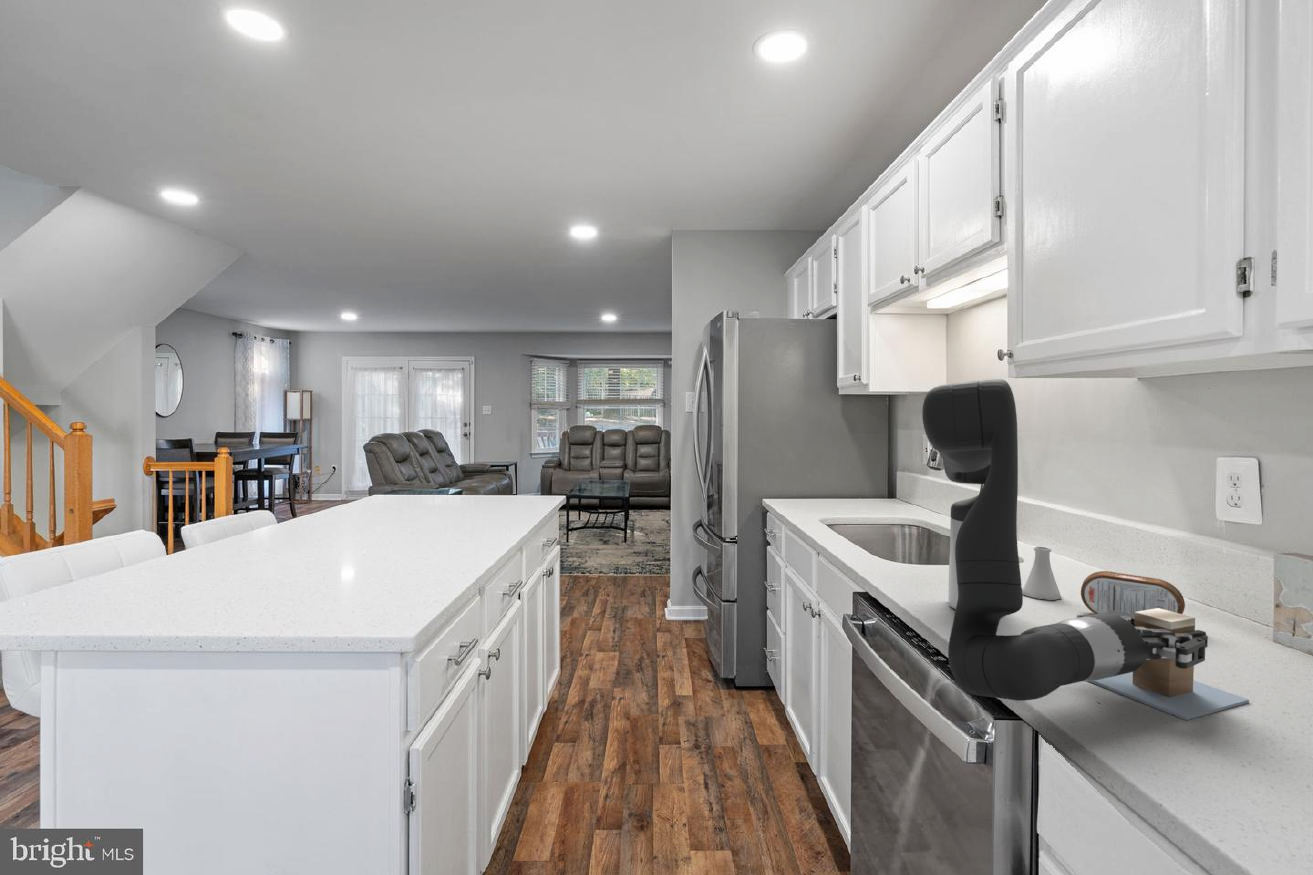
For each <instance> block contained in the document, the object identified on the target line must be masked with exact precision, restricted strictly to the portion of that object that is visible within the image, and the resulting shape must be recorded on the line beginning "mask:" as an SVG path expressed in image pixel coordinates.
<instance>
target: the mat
mask: <svg viewBox="0 0 1313 875" xmlns="http://www.w3.org/2000/svg"><path fill="white" fill-rule="evenodd" d="M1088 682H1089V683H1090V684H1091V683H1092V684H1094V685H1096V686H1099V687H1101V688H1104V689H1107V690H1109V691H1112V692H1114V693H1116V694H1118V695H1119V694H1120V695H1121V696H1125V697H1127V698H1129V699H1132V700H1135V701H1137V702H1139V703H1142V704H1144V705H1146V706H1150V707H1152V708H1154V709H1157V710H1159V711H1162V712H1164V713H1167V714H1169V715H1172V714H1173V716H1174V715H1175V717H1177V718H1179V719H1182V720H1185V721H1189V720H1193V719H1196V718H1199V717H1203V716H1207V715H1210V714H1213V713H1217V712H1220V711H1225V710H1227V709H1230V708H1232V709H1233V708H1235V707H1238V706H1241V705H1245V704H1248V703H1249V704H1250V699H1248V698H1246V697H1243V696H1240V695H1238V694H1235V693H1231V692H1229V691H1225V690H1222V689H1220V688H1217V687H1215V686H1214V687H1213V686H1211V685H1208V684H1205V683H1202V682H1199V681H1198V680H1197V681H1196V680H1194V679H1193V692H1189V693H1185V694H1181V695H1176V696H1172V697H1166V696H1164V695H1161V694H1158V693H1156V692H1153V691H1150V690H1148V689H1145V688H1143V687H1140V686H1137V685H1135V684H1132V682H1133V672H1130V673H1126V674H1122V675H1118V676H1113V677H1109V678H1104V679H1100V680H1095V681H1088Z"/></svg>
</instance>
